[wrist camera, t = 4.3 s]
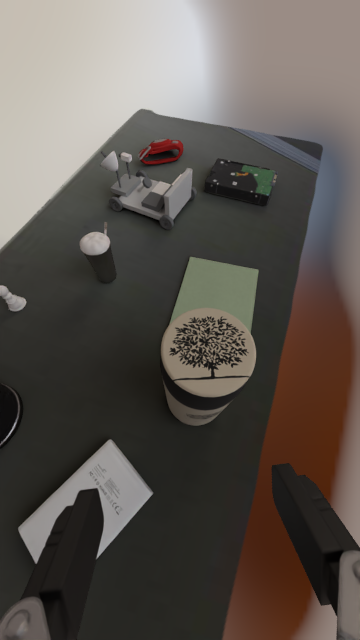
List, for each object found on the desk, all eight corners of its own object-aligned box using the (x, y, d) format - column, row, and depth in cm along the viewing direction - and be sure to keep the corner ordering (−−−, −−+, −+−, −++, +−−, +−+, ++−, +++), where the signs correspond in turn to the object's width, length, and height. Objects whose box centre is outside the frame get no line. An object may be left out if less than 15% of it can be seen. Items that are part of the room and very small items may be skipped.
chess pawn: (25, 310, 42) (7, 293, 37) (8, 313, 41) (-13, 296, 37) (27, 296, 43) (10, 278, 39) (10, 299, 43) (-9, 281, 38)
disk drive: (203, 193, 57) (267, 207, 55) (204, 182, 55) (271, 195, 52) (215, 169, 62) (275, 180, 59) (217, 157, 59) (279, 169, 57)
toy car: (86, 159, 46) (121, 131, 51) (101, 205, 55) (129, 177, 60) (171, 186, 42) (199, 153, 47) (172, 231, 51) (196, 199, 56)
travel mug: (170, 366, 37) (164, 300, 21) (223, 371, 37) (257, 308, 21) (163, 422, 33) (150, 394, 17) (222, 428, 33) (263, 405, 17)
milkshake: (128, 271, 46) (116, 228, 37) (107, 290, 44) (90, 249, 35) (111, 260, 47) (95, 216, 38) (90, 278, 45) (68, 235, 36)
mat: (244, 373, 37) (245, 372, 36) (160, 352, 38) (160, 351, 38) (257, 271, 46) (258, 269, 46) (190, 258, 47) (190, 256, 47)
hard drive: (24, 524, 28) (112, 439, 32) (64, 596, 25) (153, 492, 30) (16, 528, 27) (108, 438, 31) (57, 604, 24) (152, 494, 28)
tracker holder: (149, 138, 66) (185, 132, 63) (153, 157, 69) (187, 152, 66) (131, 150, 58) (170, 144, 55) (136, 171, 61) (174, 166, 58)
